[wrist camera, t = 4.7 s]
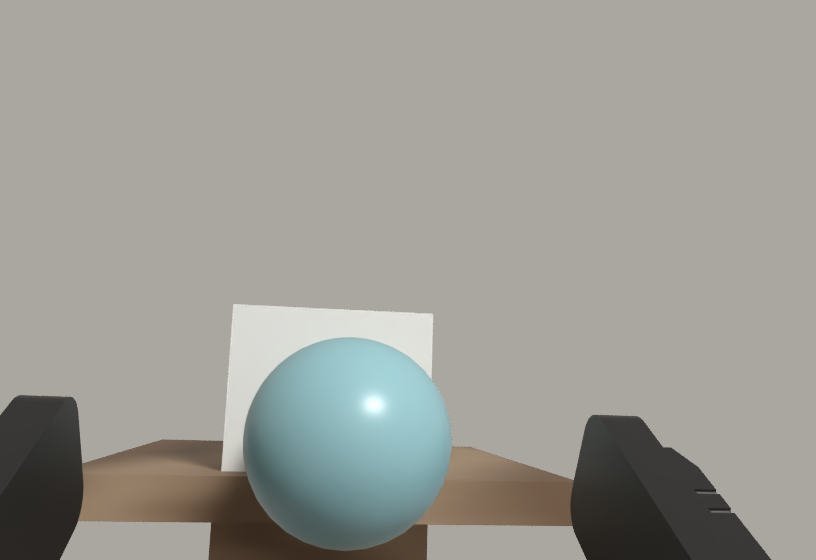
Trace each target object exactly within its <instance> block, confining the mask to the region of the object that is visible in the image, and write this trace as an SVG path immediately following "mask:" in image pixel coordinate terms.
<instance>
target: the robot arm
mask: <svg viewBox="0 0 816 560" xmlns="http://www.w3.org/2000/svg"><path fill="white" fill-rule="evenodd" d="M83 489H84V484H83V470H82V457H81V444H80V432H79V419H78V409H77V404H76V401H75V400H74V398H72V397H55V396H26V395H19V396H17V397H15V398H14V399H13V400H12V401H11V403H10V404H9V405H8V406H7V408H6V409H5V410H4V412H3V413H2V414H1V415H0V560H60V558H61V556H62V554H63V551H64V549H65V548H66V546H67V544H68V542H69V540H70V538H71V535H72V534H73V532H74V529H75V527H76V525H77V522H78V519H79V516H80V512H81V507H82V501H83ZM730 509H731V508H730V507H729V506H728V504H727V503H726V502H725V501H724V499H723V498H722V497H721V495H720V494H716V489H715V488H714V486H713V485H712V484H711V483H710V481H709V480H708V479H707V478H706V477H705V475H704V474H703V473H702V471H701V470H700V469H699V467H697V466H696V465H694V464H693V463H692V462H690V461H689V460H688V459H686V458H685V457H683V456H682V455H681V454H679V453H678V452H676V451H675V450H674V449H672V448H663V447H662V445H661V444H660V443H659V441H658V440H657V439H656V437H655V436H654V435H653V434H652V432H651V431H650V429H649V428H648V427H647V425H646V424H645V423H644V421H643V420H642V419H641V418H639V417H637V416H613V415H611V416H610V415H592V416H591V417H590V418H589V420H588V421H587V424H586V427H585V431H584V436H583V440H582V445H581V450H580V455H579V460H578V464H577V469H576V473H575V478H574V483H573V487H572V493H571V501H570V510H571V520H572V525H573V529H574V532H575V535H576V537H577V539H578V541H579V544H580V546H581V548H582V550H583V552H584V555H585V557H586V559H587V560H771V559H770V558H769V556H768V555H767V554H766V553H765V551H764V550H763V549H762V547H761V546H760V545H759V544H758V542H757V541H756V540H755V539H754V537H753V536H752V535H751V533H750V532H749V531H748V530H747V528H746V527H745V526H744V525H743V523H742V522H741V521H740V519H739V518H738V517H737V516H736V514H735V513H731V510H730Z"/></svg>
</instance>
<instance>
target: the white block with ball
mask: <svg viewBox="0 0 816 560" xmlns="http://www.w3.org/2000/svg"><path fill="white" fill-rule="evenodd" d="M432 334H433V314H424V313H423V314H422V313H404V312H383V311H361V310H341V309H320V308H300V307H299V308H298V307H279V306H257V305H236V304H234V305H233V318H232V330H231V344H230V345H231V346H230V358H229V359H230V360H229V372H228V385H227V399H226V413H225V427H224V440H223V454H222V468H221V471H234V472H247V476H248V481H249V483H250V485H251V487H252V490H253V492H254V494H255V496H256V498H257V501H258V502H259V503H260V505H261V506H262V507H263V509H264V510H265V512H266V513H267V514H268V516H269V517H270V518H271V519H272V520H273V521H274V522H275V523H276V524H278V525H279V526H280V527H281V528H282V529H283V530H284V531H285V532H287V533H289V534H290V535H292V536H294V537H296V538H297V539H299V540H301V541H303V542H305V543H308V544H311V545H314V546H317V547H320V548H323V549H330V550H340V551H350V550H361V549H367V548H370V547H374V546H377V545H380V544H383V543H386V542H388V541H390V540H392V539H394V538H395V537H397V536H399V535H401V534H403V533H404V532H406V531H407V530H408V529H409V528H410V527H412V526H413V525H414V524H415V523H416V522H418V521H419V520H420V519H421V518H422V517H423V515H424V514H425V513H426V512H427V510H428V509H429V508H430V507H431V505H432V504H433V503H434V501H435V499H436V497H437V496H438V494H439V492H440V490H441V488H442V486H443V484H444V481H445V478H446V475H447V472H448V468H449V465H450V457H451V449H452V437H451V425H450V420H449V417H448V413H447V409H446V405H445V403H444V401H443V399H442V397H441V395H440V392H439V390H438V388H437V386H436V385H435V384H434V382H433V381H432V380H431V376H432V338H433V335H432Z"/></svg>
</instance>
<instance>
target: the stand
mask: <svg viewBox="0 0 816 560" xmlns="http://www.w3.org/2000/svg"><path fill="white" fill-rule="evenodd" d="M222 454H223V441H199V440H198V441H196V440H160V441H157V442H153V443H149V444H146V445H143V446H139V447H136V448H133V449H129V450H126V451H123V452H119V453H116V454H113V455H109V456H106V457H103V458H99V459H96V460H93V461H90V462H86V463H83V464H82V470H83V484H84V489H83V501H82V507H81V512H80V516H79V519H78V521H116V522H118V521H119V522H120V521H122V522H123V521H124V522H211V534H210V548H209V560H427V525H428V524H429V525H528V526H530V525H531V526H534V525H535V526H573V525H572V520H571V510H570V501H571V493H572V487H573V483H574V480H571V479H568V478H565V477H562V476H559V475H556V474H552V473H549V472H546V471H543V470H540V469H537V468H534V467H531V466H528V465H525V464H521V463H518V462H515V461H512V460H509V459H506V458H503V457H499V456H497V455H493V454H490V453H487V452H484V451H481V450H478V449H475V448H472V447H452V449H451V457H450V465H449V468H448V472H447V475H446V478H445V481H444V484H443V486H442V488H441V490H440V492H439V494H438V496H437V497H436V499H435V501H434V503H433V504H432V505H431V507H430V508H429V509H428V510H427V512H426V513H425V514H424V515H423V517H422V518H421V519H420V520H419V521H418V522H416V523H415V524H414V525H413V526H412V527H410V528H409V529H408V530H407V531H406V532H404V533H403V534H401V535H399V536H397V537H395V538H394V539H392V540H390V541H388V542H386V543H383V544H380V545H377V546H374V547H370V548H367V549H361V550H350V551H340V550H330V549H323V548H320V547H317V546H314V545H311V544H308V543H305V542H303V541H301V540H299V539H297V538H296V537H294V536H292V535H290V534H289V533H287V532H285V531H284V530H283V529H282V528H281V527H280V526H279V525H278V524H276V523H275V522H274V521H273V520H272V519H271V518H270V517H269V516H268V514H267V513H266V512H265V510H264V509H263V507H262V506H261V505H260V503H259V502H258V501H257V498H256V496H255V494H254V492H253V490H252V487H251V485H250V483H249V481H248V476H247V472H234V471H221V468H222Z"/></svg>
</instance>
